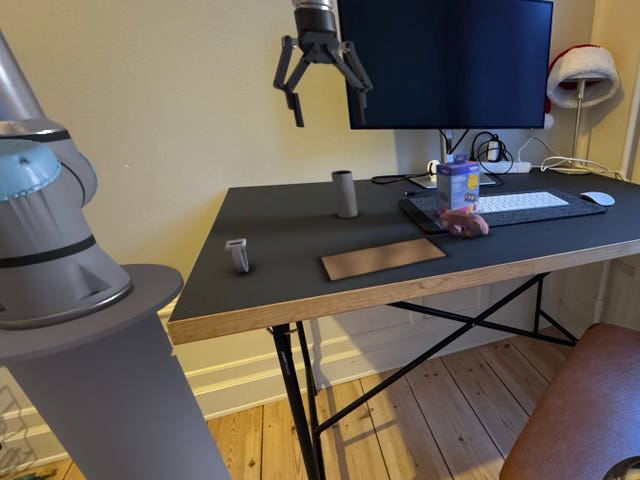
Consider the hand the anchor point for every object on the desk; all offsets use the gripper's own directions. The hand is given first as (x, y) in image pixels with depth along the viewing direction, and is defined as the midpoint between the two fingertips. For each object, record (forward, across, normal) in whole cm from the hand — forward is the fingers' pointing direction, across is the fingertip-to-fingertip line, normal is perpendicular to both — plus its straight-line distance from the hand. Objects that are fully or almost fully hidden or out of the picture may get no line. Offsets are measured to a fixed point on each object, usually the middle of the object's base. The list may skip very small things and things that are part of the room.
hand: (332, 125), depth 81 cm
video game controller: (+20, +12, -31) cm, 39 cm away
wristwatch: (+20, -26, -20) cm, 39 cm away
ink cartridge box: (+20, +21, -18) cm, 34 cm away
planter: (+20, 0, -2) cm, 20 cm away
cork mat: (+20, -6, -30) cm, 37 cm away
